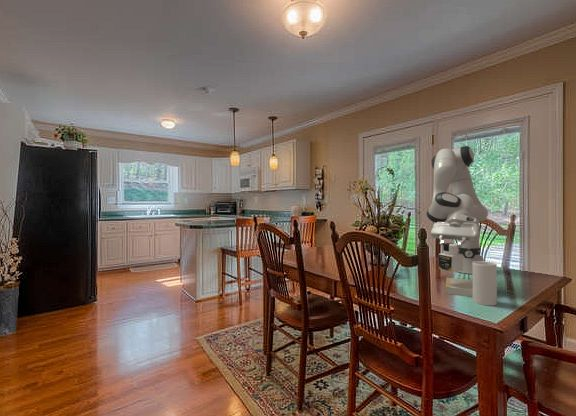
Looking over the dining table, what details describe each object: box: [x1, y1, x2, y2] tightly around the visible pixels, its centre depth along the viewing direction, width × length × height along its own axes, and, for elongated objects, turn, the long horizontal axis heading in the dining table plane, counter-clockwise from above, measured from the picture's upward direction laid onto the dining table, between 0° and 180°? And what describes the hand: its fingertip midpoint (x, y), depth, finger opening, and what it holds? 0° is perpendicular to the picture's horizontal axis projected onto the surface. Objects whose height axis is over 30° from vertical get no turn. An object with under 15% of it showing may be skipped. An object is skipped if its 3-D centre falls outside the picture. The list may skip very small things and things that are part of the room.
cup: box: [472, 260, 498, 307], centre depth 123 cm, size 8×8×16 cm
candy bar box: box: [381, 252, 394, 277], centre depth 168 cm, size 11×5×16 cm, turn 168°
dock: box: [445, 276, 473, 298], centre depth 140 cm, size 18×12×3 cm, turn 152°
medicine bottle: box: [438, 242, 463, 273], centre depth 138 cm, size 7×7×12 cm
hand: (450, 245), depth 137 cm, fingers closed on medicine bottle, 6 cm apart
